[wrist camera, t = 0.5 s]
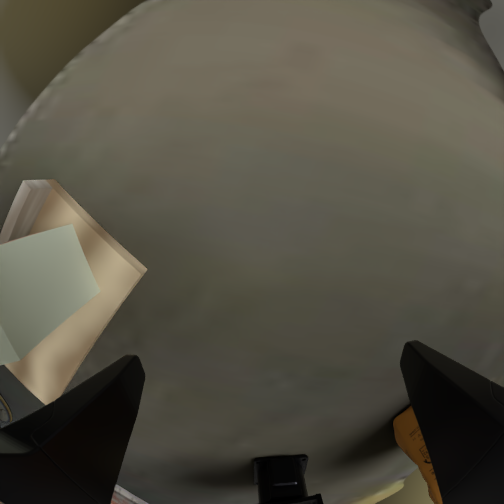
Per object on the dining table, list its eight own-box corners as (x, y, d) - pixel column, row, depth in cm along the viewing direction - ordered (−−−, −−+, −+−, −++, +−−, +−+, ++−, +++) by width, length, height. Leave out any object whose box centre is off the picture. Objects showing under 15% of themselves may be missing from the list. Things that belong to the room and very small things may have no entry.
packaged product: (56, 486, 26) (79, 483, 24) (65, 469, 30) (89, 462, 29) (136, 534, 29) (169, 533, 28) (140, 517, 34) (172, 513, 33)
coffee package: (467, 402, 28) (542, 493, 7) (397, 449, 29) (452, 562, 8) (467, 359, 26) (570, 463, 5) (385, 414, 27) (461, 558, 5)
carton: (100, 291, 21) (20, 360, 10) (55, 309, 21) (-20, 370, 11) (71, 221, 20) (-29, 250, 9) (28, 247, 20) (-60, 283, 9)
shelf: (147, 269, 22) (127, 287, 18) (56, 403, 26) (41, 424, 21) (52, 177, 20) (21, 178, 16) (-9, 337, 24) (-29, 352, 19)
